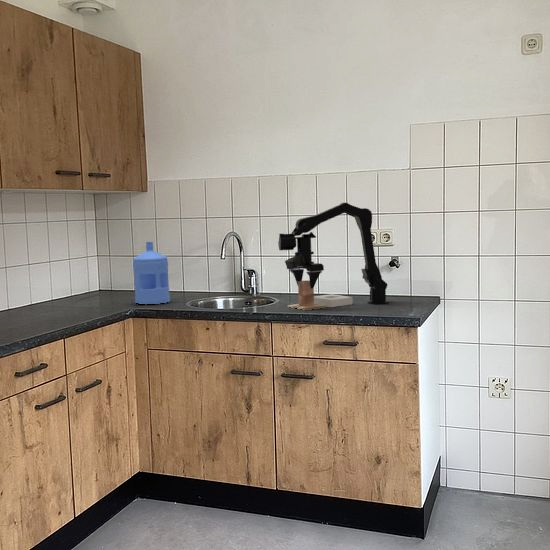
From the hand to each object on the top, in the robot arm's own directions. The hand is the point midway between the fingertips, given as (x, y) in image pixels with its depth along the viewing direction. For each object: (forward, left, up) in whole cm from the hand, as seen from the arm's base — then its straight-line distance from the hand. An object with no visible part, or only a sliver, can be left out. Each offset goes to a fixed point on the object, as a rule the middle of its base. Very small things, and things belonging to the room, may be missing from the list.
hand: (305, 287), depth 271 cm
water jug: (+63, +42, -8) cm, 76 cm away
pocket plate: (0, -13, -8) cm, 16 cm away
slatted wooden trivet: (0, 0, -8) cm, 8 cm away
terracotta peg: (0, 0, -8) cm, 8 cm away
